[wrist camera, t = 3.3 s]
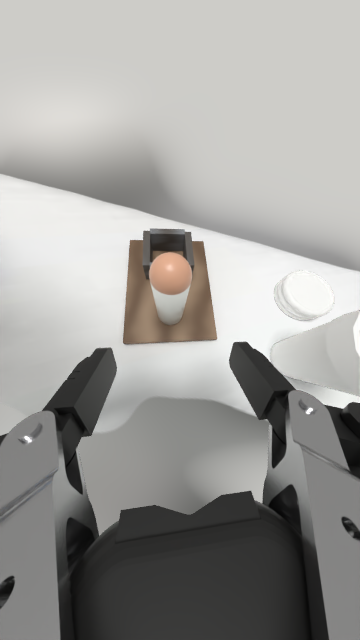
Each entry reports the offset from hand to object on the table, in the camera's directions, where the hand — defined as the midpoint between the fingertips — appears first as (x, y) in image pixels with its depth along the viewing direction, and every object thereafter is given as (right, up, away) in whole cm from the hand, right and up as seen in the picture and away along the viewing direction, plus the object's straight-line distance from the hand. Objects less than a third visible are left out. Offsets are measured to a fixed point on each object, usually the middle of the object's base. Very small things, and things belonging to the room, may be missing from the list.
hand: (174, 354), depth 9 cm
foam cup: (+20, -5, +16) cm, 26 cm away
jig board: (-2, +9, +18) cm, 20 cm away
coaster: (+25, +7, +20) cm, 33 cm away
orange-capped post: (-1, +4, +15) cm, 16 cm away
